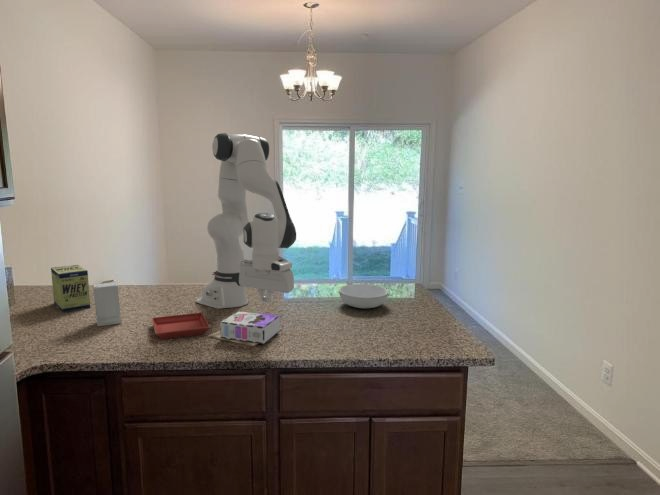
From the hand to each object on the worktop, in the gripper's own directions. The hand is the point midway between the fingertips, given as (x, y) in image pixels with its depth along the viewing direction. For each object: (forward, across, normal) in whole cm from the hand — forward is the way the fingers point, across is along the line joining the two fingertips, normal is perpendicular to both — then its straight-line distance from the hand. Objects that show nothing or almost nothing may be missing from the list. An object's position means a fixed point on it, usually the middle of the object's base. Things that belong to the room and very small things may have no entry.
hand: (265, 301), depth 160 cm
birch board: (+13, -8, 0) cm, 15 cm away
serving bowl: (+13, +16, +51) cm, 55 cm away
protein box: (+13, -90, -7) cm, 91 cm away
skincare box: (+13, -59, -15) cm, 62 cm away
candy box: (+9, +3, 0) cm, 10 cm away
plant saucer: (+13, -31, -8) cm, 35 cm away
